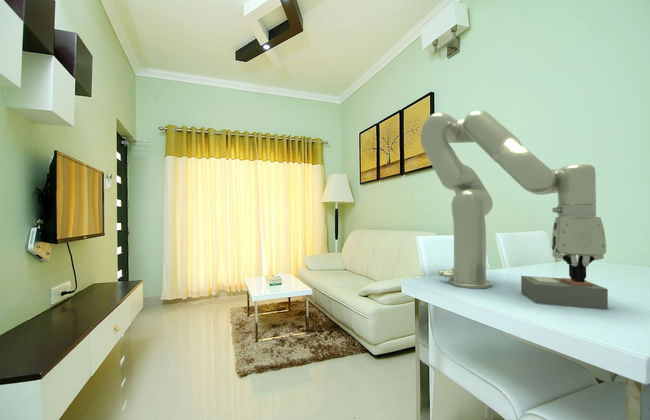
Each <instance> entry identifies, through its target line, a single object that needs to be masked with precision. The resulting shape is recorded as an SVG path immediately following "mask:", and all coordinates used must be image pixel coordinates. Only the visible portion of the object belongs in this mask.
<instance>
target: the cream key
mask: <svg viewBox="0 0 650 420" xmlns="http://www.w3.org/2000/svg"><path fill="white" fill-rule="evenodd" d="M542 277H543V276H532V279H533V280H535V281H536V282H539V283H554V284H559V282H558V281H556V280H554V279H552V278H553V277H548V278H542Z"/></svg>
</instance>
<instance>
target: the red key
mask: <svg viewBox="0 0 650 420" xmlns="http://www.w3.org/2000/svg"><path fill="white" fill-rule="evenodd" d="M560 278H561V281H563V282H565V283H567V284H570V285H585V286H592V283H593V282H591V283H590V281H588V280H586V281H585V282H581V281H580V282H577V281H574V280H572V279H571V277H569V278H568V277H567V278H566V277H560Z"/></svg>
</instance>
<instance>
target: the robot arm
mask: <svg viewBox="0 0 650 420" xmlns="http://www.w3.org/2000/svg"><path fill="white" fill-rule="evenodd" d="M420 143H421V146H422V149H423V151H424V153H425V156H426V157H427V158H428V160H429V162H430V164H431V166H432V169H433V170H434V172H435V173H436V175H437V177H438V179H439V181H440V183H441V184H442V186H443V187H444V188H445V189H448V190H450V191H451V190H452V191H453V192H454V193H455V195H454V196H453V198H452V200H451V213H452V214H451V215H452V221H453V223H452V224H453V267H451V269H448V270H445V269H442V270H441V269H439V270H438V276H440V277H444V278H448V282H449V284H451V285H454V286H456V287H460V288H466V289H476V290H477V289H478V290H484V289H490V288H492V282H491V281H490V280H487V227H486V226H487V225H486V219H485V217H486V216H487V215H488V214H489V213H490V212H491V210H492V208H493V204H494V203H493V199H492V197H491V194H490V193H489V191H488V190H487V188H486V187H485V184H483V182H482V180H481V179H480V177H479V176H478V174H477V173H476V172H475V170H474V169H473V168H472V167H470V166H468V165H465V164H464V163H463V162H462V161H461V160H460V158H459V156H457V154H456V152H455V150H454V149H453V147H452V145H450V144H451V143H452V144H456V143H457V144H459V143H476V145H478V146H479V147H480V148H481V149H482V150H483V151H484V153H486V154H487V155H488V156H489V157H490V158H491V159H492V160H493V161H494V162H495V163H496V164H498V165H499V166H500V167H501V169H503V170H504V171H505V172H506V173H507V174H508V175H509V176H510V177H511V178H512V179H513V180H514V181H515V182H516V183H518V185H519V186H520V187H521V188H523V190H525V191H527V192H528V193H532V194H535V195H541V196H543V195H550V194H556V193H557V206H555V207H552V210H551V211H552V213H556V214H557V215H558V216H555V218H554V222H553V226H552V234H551V248H552V257H553V258H557V259H561V260H563V261H564V262H565V263H566V264H567V265H568V267H569V268H568V276H569V278H571V279H572V280H574V281H577V282H580V281H581V282H585V280H586V278H587V267H589V265H590V263H593V261H598V260H603V259H604V255H605V254H606V253H607V243H606V242H607V240H606V234H605V228H604V224H603V220H602V218H601V216H600V217H599V216H597V193H596V192H597V187H596V186H597V184H596V183H597V181H596V179H597V178H596V169H595V167H594V166H593V165H592V164H571V165H567V166H566V165H565V166H562V167H560V168H559V169H558V168H556V169H551V168H550V167H548V165H546V164H545V163H544V162H543V161H541V159H539V158H538V157H537V156H536V155H534V154H533V153H532V152H531V151H530V150H529V149H528V148H526V146H525V145H524V144H522V142H521V141H520V139H519V138H518V137H517V136H515V135H514V134H513V132H511V131H510V130H508V129H507V128H506V127H505V126H504V125H502V123H501V122H500V121H498V120H497V119H496V118H495V117H493V116H492V115H491V114H490V113H489V112H487V111H485V110H481V109H477V110H473V111H471V112H470V113H468V114H467V115H466V116H465V118H464V119H456V118H455V117H453V116H451V115H450V114H448V113H445V112H435V113H433V114H430V115H429V116H428V117H427V118H426V120H425V121H424V123H423V125H422V128H421V131H420Z"/></svg>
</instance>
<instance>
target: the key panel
mask: <svg viewBox="0 0 650 420" xmlns="http://www.w3.org/2000/svg"><path fill="white" fill-rule="evenodd" d="M532 277H533V276H530V275H521V277H520V280H521V281H520V290H521V291H520V293H521V295H524V296H525V297H526V298H528V299H529V300H530V301H532V302H534V303H535V304H540V305H551V306H561V307H573V308H574V307H575V308H587V309H597V310H609V309H608V308H609V307H608V306H609V305H608V301H609V299H608V298H609V297H608V296H609V293H608V292H609V291H608V290H609V289H608V288H606V287H603V286H601V285H598V284H595V283H594V282H590V281H589V282H590V283H592V286H585V285H570V284H567V283H565V282H563V281H561V278H562V277H560V278H559V277H551V278H552V279H554V280H556V281H558V282H559V284H554V283H539V282H536V281H535V280H533V279H532ZM541 277H542V278H549V277H546V276H541ZM585 281H587V280H586V279H585Z"/></svg>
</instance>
